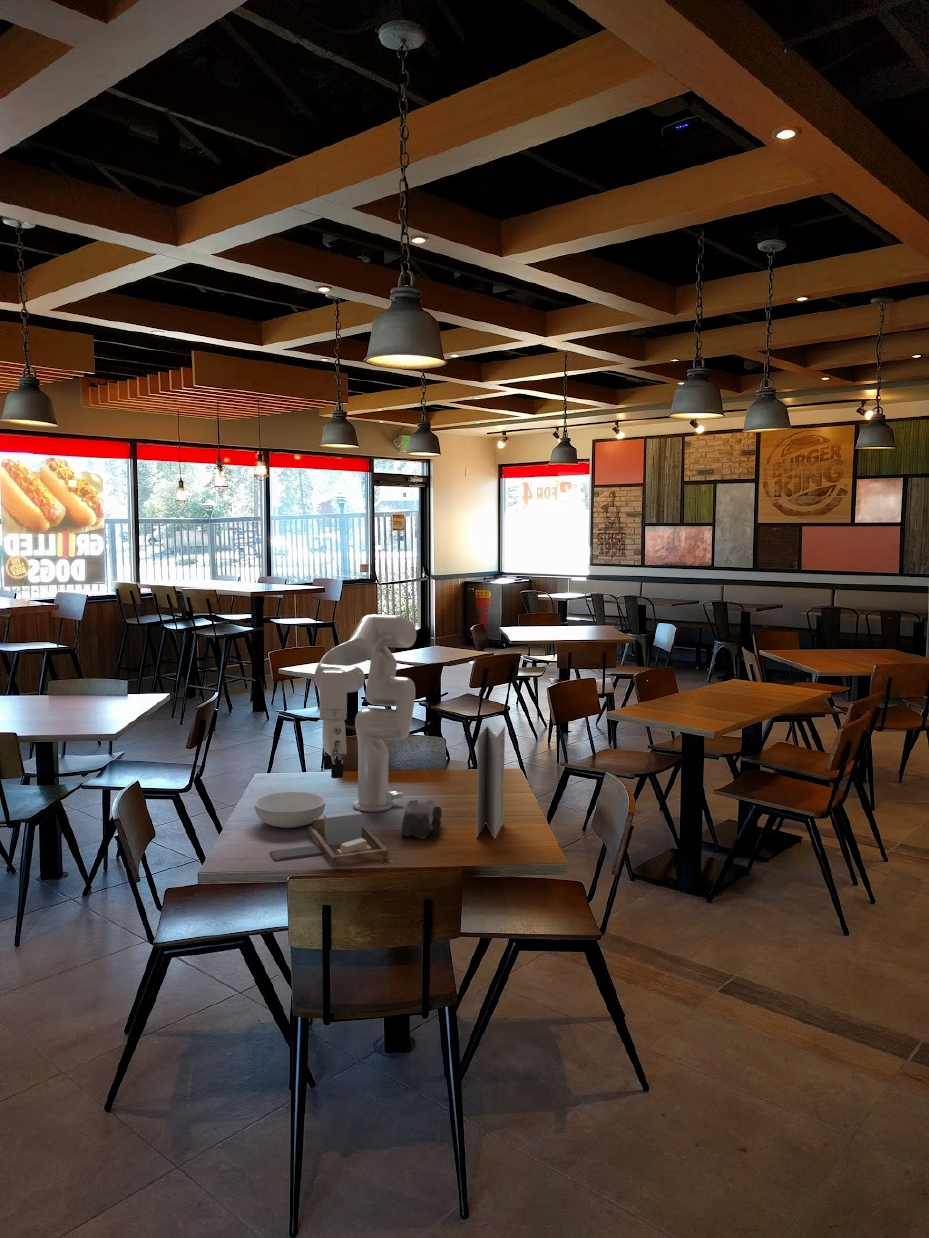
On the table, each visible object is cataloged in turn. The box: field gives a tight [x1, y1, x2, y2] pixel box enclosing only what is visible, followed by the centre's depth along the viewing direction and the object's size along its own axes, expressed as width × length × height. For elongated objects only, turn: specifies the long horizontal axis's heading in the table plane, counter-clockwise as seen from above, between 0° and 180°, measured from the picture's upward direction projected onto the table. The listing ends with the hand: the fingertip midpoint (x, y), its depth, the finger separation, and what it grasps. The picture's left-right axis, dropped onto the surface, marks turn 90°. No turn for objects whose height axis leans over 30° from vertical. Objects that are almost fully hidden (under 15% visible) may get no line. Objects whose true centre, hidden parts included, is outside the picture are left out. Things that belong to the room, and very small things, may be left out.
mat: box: [269, 844, 323, 861], centre depth 246 cm, size 13×6×1 cm, turn 113°
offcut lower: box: [336, 844, 373, 855], centre depth 246 cm, size 9×3×2 cm, turn 119°
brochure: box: [475, 725, 506, 839], centre depth 265 cm, size 14×6×30 cm, turn 168°
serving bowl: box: [253, 791, 326, 829], centre depth 271 cm, size 21×21×7 cm
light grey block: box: [323, 810, 363, 846], centre depth 256 cm, size 10×3×8 cm, turn 113°
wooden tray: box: [308, 817, 389, 867], centre depth 253 cm, size 15×26×4 cm, turn 23°
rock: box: [400, 799, 443, 840], centre depth 265 cm, size 18×11×8 cm, turn 178°
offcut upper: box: [340, 837, 368, 853], centre depth 246 cm, size 7×3×2 cm, turn 137°
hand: (333, 773), depth 255 cm, fingers open, 9 cm apart
